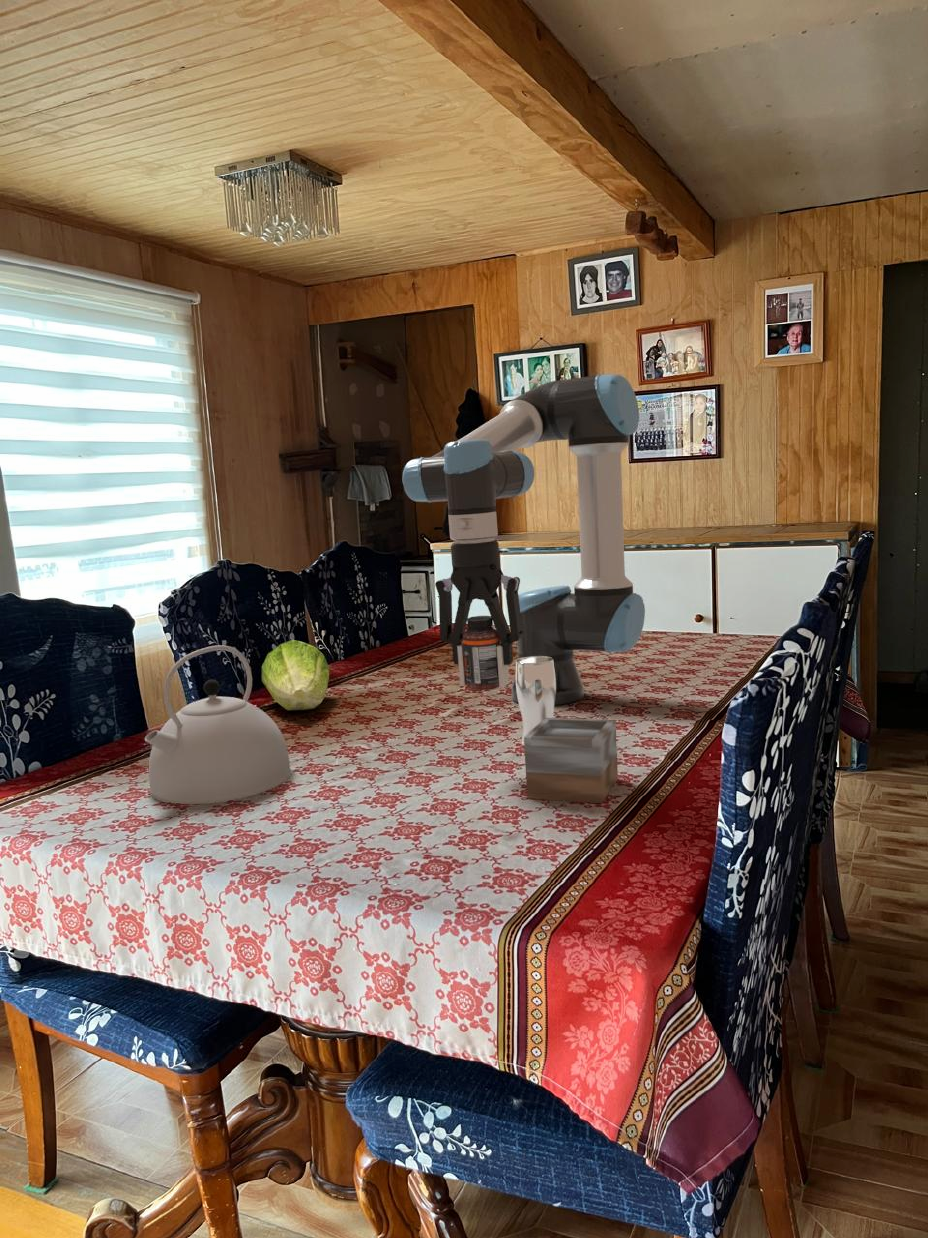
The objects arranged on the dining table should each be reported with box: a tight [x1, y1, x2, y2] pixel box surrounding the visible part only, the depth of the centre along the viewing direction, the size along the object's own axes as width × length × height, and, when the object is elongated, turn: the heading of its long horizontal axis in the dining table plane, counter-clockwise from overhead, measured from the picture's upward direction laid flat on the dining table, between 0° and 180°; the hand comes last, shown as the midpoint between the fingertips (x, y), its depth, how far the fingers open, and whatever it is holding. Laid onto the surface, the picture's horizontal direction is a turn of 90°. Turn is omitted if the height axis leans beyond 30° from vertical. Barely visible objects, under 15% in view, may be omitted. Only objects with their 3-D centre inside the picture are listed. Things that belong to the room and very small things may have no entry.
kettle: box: [144, 645, 292, 805], centre depth 152 cm, size 25×23×23 cm
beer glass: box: [515, 656, 556, 746], centre depth 163 cm, size 7×7×15 cm
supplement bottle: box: [462, 615, 501, 691], centre depth 149 cm, size 6×6×11 cm
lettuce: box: [261, 639, 330, 711], centre depth 200 cm, size 14×24×15 cm
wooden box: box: [524, 717, 619, 804], centre depth 138 cm, size 11×11×9 cm
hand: (484, 684), depth 150 cm, fingers closed on supplement bottle, 6 cm apart
